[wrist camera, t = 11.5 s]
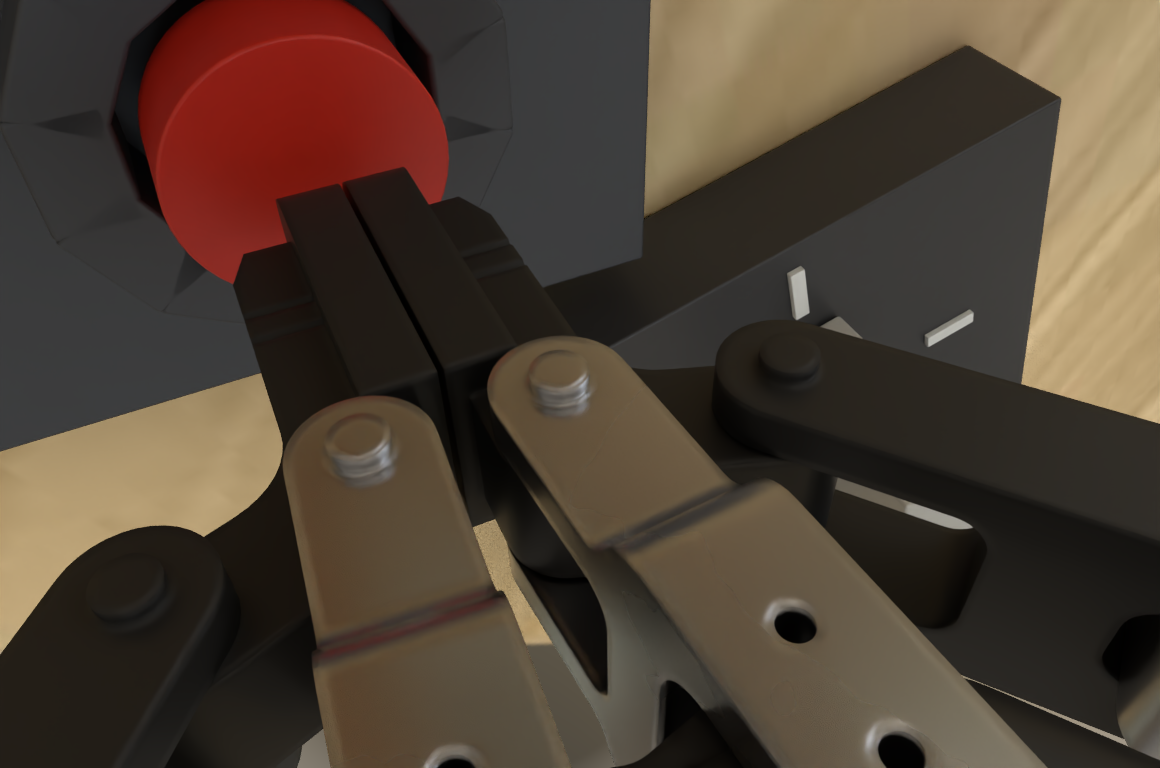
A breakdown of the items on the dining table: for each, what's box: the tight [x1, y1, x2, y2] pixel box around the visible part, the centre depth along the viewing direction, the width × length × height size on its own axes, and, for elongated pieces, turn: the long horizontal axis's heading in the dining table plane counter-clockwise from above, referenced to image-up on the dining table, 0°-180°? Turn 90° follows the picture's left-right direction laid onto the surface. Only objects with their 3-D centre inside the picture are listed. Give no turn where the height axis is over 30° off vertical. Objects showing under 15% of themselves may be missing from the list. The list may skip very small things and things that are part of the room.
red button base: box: [0, 0, 651, 451], centre depth 14 cm, size 13×11×4 cm
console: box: [543, 46, 1061, 384], centre depth 25 cm, size 14×11×3 cm
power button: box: [138, 0, 449, 284], centre depth 13 cm, size 4×4×2 cm
